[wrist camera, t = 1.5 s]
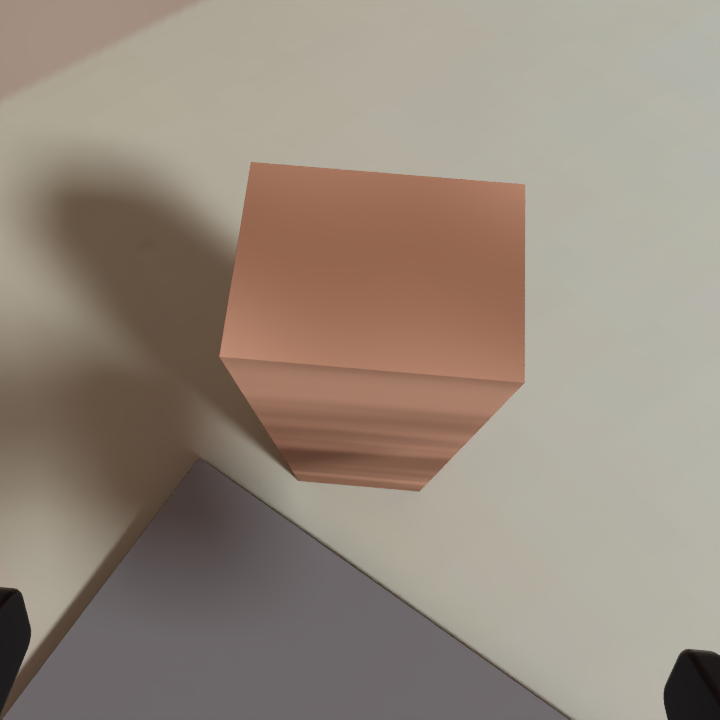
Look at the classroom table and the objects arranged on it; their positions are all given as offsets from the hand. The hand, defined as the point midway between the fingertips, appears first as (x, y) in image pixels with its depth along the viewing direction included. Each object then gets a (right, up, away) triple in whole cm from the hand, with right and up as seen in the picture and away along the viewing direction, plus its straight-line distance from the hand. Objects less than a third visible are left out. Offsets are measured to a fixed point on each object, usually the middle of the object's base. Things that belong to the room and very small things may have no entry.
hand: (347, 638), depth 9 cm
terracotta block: (0, +1, +12) cm, 12 cm away
